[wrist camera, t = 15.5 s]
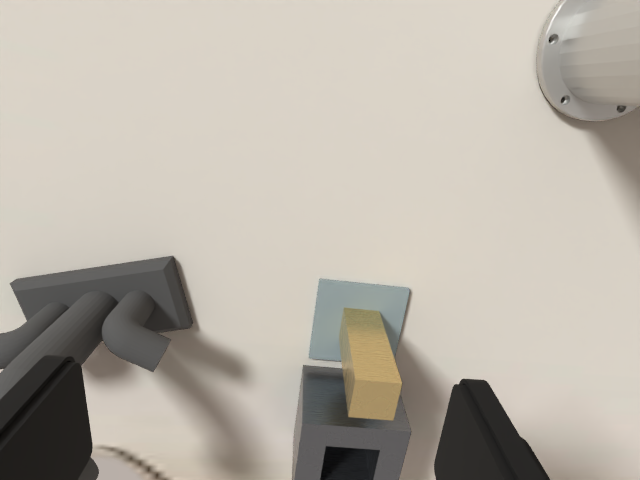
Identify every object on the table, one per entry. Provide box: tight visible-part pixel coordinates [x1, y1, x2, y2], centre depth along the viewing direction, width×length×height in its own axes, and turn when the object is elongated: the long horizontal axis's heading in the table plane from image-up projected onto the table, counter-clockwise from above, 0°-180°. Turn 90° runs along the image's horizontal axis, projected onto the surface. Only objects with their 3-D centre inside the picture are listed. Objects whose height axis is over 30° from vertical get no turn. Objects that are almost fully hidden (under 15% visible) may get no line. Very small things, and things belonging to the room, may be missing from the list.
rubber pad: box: [309, 279, 410, 361], centre depth 47 cm, size 10×10×1 cm
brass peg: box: [339, 308, 402, 421], centre depth 41 cm, size 4×4×12 cm
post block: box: [292, 365, 411, 480], centre depth 47 cm, size 11×11×9 cm
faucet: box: [0, 256, 193, 480], centre depth 37 cm, size 18×16×20 cm
